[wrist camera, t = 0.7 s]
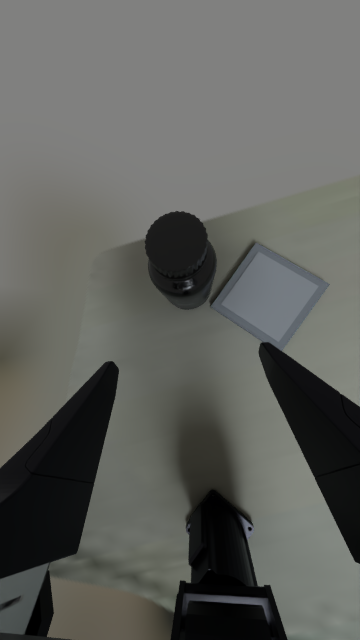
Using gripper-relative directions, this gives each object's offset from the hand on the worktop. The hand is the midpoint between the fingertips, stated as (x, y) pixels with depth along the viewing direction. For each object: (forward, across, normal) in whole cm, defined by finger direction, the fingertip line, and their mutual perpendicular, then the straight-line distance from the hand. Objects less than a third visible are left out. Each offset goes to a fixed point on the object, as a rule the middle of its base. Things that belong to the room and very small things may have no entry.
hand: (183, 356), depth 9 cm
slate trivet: (+13, -11, +6) cm, 18 cm away
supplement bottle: (+15, 0, +3) cm, 16 cm away
